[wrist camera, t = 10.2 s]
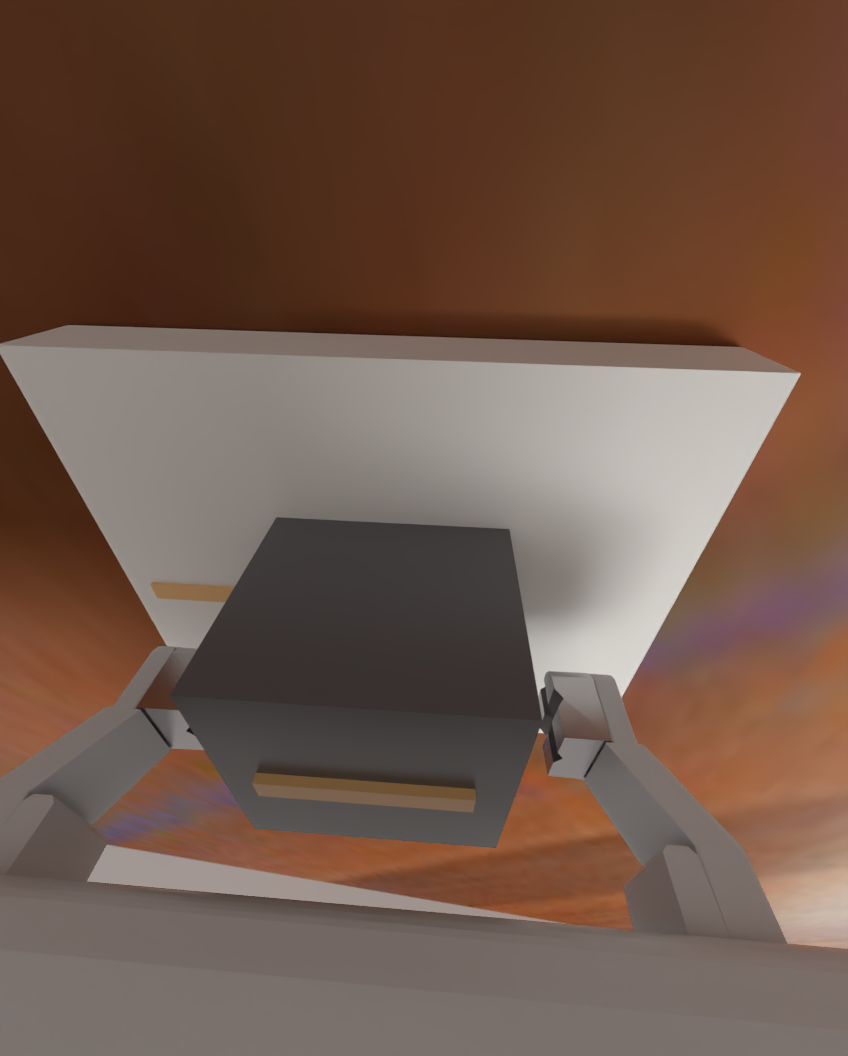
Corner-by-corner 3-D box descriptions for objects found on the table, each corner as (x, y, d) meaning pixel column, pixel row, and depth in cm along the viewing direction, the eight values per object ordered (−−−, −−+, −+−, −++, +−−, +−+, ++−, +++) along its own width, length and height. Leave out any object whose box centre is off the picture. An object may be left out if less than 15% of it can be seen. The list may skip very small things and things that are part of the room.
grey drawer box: (509, 529, 10) (544, 734, 6) (484, 669, 14) (496, 858, 10) (276, 517, 11) (162, 707, 7) (310, 658, 14) (251, 838, 10)
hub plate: (742, 347, 9) (992, 459, 5) (586, 690, 18) (629, 844, 13) (67, 324, 10) (-233, 407, 6) (225, 666, 18) (153, 807, 14)
